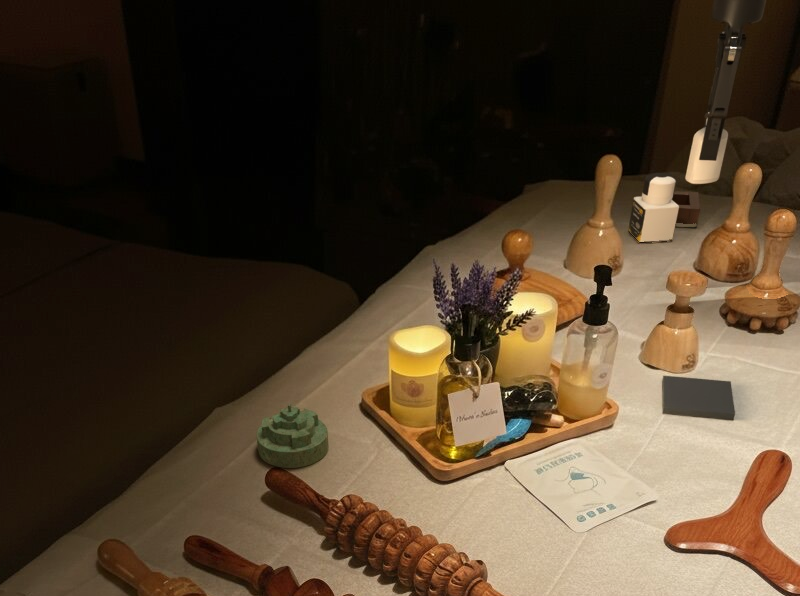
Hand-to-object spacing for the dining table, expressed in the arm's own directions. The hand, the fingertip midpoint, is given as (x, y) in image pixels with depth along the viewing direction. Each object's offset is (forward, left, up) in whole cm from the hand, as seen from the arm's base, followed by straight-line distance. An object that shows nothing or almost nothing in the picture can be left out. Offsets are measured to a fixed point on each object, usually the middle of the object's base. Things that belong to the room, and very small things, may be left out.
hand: (707, 155), depth 148 cm
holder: (+1, -36, -22) cm, 43 cm away
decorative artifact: (+54, +69, -23) cm, 91 cm away
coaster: (-2, +44, -22) cm, 49 cm away
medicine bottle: (+5, -24, -23) cm, 34 cm away
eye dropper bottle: (0, 0, -4) cm, 4 cm away
